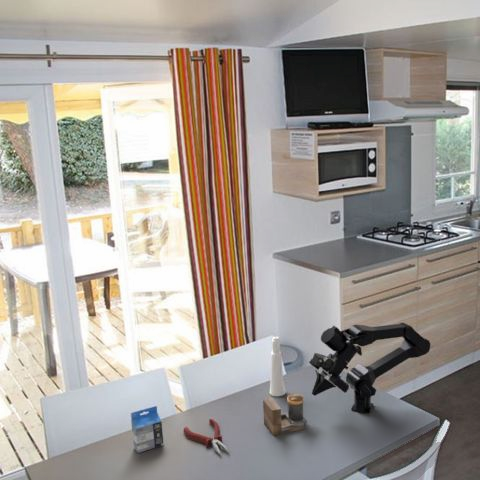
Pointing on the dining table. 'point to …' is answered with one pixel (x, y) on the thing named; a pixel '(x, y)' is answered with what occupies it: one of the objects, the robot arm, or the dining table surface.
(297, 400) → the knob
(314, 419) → the dining table surface
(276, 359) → the cosmetic bottle
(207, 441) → the pliers
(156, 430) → the label tape box
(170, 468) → the dining table surface
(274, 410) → the mount
